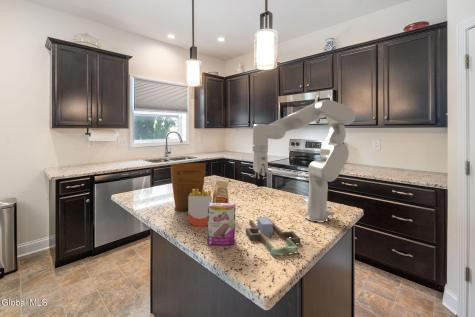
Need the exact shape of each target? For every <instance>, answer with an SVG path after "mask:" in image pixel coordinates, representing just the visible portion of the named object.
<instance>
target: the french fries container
mask: <svg viewBox="0 0 475 317" xmlns="http://www.w3.org/2000/svg"><path fill="white" fill-rule="evenodd" d="M198 190H199V189H197V191H196V189H192V193H190V194H189V196H188V212H187V213H188V215H187V216H188V222H189V223H190V224H191V225H193V226H194V227H206V226H208V205H209V203H212V200H213V197H212V194H211V192H212V190H210V189H209V190H206V191H205V188H203V190H202V195H201V192H198ZM195 191H196V194H195ZM207 191H208V192H207Z"/></svg>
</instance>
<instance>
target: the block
mask: <svg viewBox="0 0 475 317" xmlns="http://www.w3.org/2000/svg"><path fill="white" fill-rule="evenodd" d="M256 220H257V221H256V222H257V224H256V226H257V227H258V228H259V233H263V234H264V236H266V235H273V234H274V231H273V223H274V222H273V221H272V220H271V219H270V218H269V217H268V216H263V217H262V216H259V217H257V219H256ZM270 220H271V221H272V222H273V223H272V222H271V221H270Z"/></svg>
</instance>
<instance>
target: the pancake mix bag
mask: <svg viewBox="0 0 475 317" xmlns="http://www.w3.org/2000/svg"><path fill="white" fill-rule="evenodd" d="M170 175H171V176H170V178H171V186H172V192H173V193H172V194H173V200H174V211H175V212H179V213H182V212H183V213H185V212H187V213H188V196H189V194H190V193H192V189H196V191H197V189H199V190H198V192H201V195H202V190H203V189H204V187H205V186H204V185H205V175H206V163H203V162H189V163H173V164H172V165H171V166H170ZM196 191H195V194H196Z"/></svg>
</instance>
